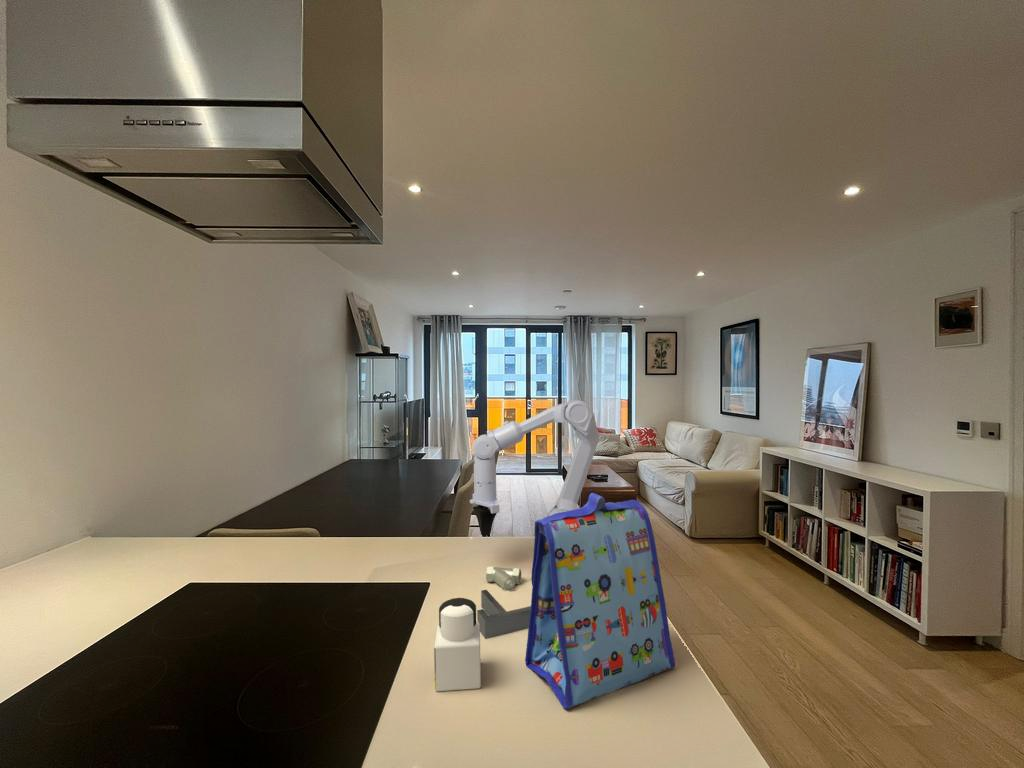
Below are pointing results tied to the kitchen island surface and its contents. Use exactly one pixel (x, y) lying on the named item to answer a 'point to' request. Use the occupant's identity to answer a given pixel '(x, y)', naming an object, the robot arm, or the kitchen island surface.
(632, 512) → the lunch bag
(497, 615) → the grey angle bracket
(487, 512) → the robot arm
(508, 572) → the pipe fitting
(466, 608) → the medicine bottle
